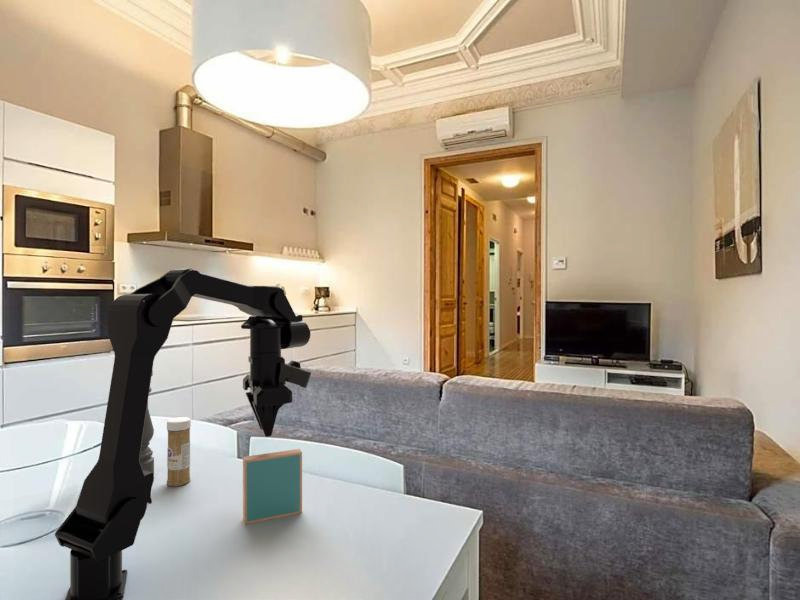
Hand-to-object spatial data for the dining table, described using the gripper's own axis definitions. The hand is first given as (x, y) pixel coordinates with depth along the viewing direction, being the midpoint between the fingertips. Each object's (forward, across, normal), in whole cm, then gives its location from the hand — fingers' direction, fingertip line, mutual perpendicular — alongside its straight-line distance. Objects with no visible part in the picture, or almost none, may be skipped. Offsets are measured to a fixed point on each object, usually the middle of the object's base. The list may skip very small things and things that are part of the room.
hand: (265, 432), depth 89 cm
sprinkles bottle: (+13, +17, +15) cm, 26 cm away
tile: (+8, -7, 0) cm, 10 cm away
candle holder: (+13, +25, +23) cm, 36 cm away
